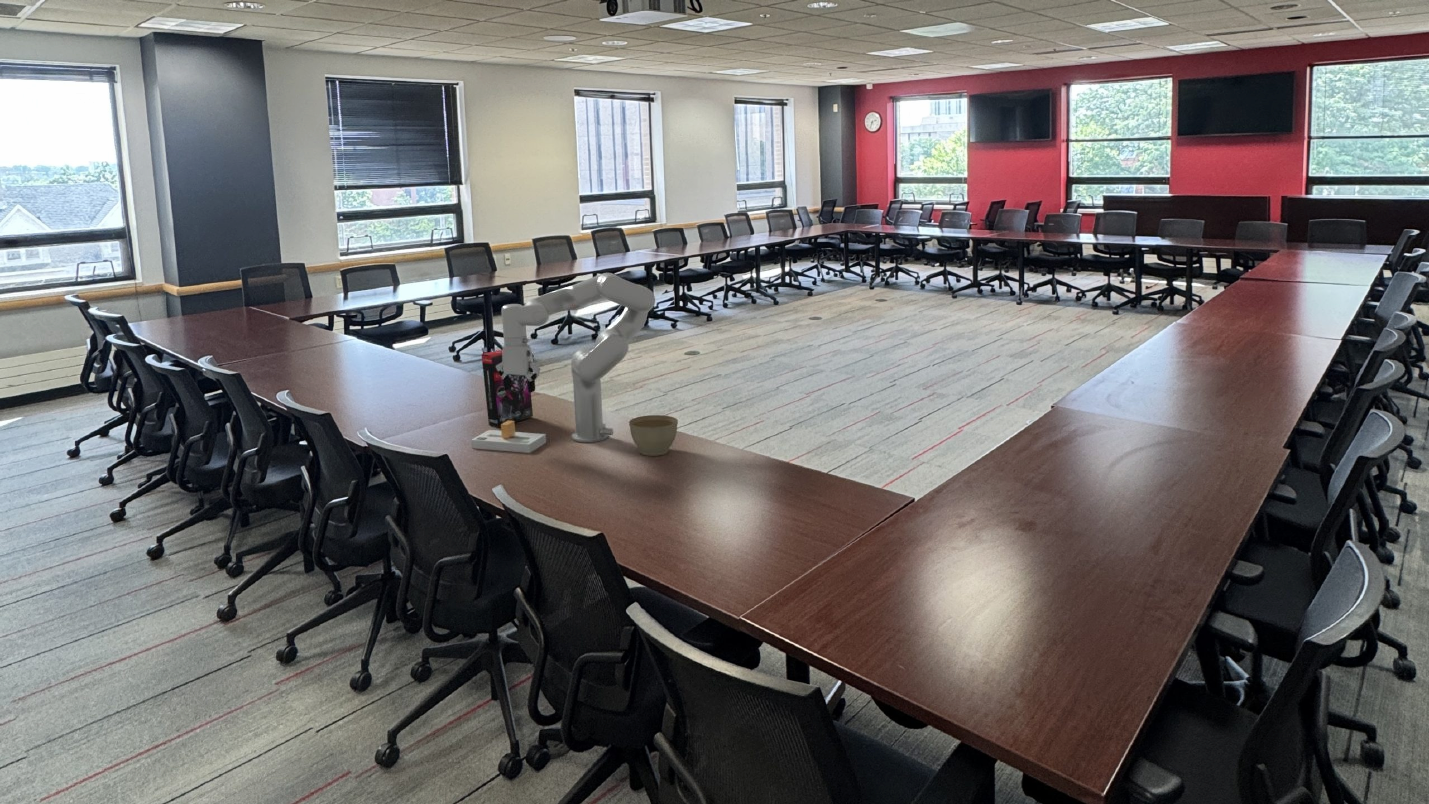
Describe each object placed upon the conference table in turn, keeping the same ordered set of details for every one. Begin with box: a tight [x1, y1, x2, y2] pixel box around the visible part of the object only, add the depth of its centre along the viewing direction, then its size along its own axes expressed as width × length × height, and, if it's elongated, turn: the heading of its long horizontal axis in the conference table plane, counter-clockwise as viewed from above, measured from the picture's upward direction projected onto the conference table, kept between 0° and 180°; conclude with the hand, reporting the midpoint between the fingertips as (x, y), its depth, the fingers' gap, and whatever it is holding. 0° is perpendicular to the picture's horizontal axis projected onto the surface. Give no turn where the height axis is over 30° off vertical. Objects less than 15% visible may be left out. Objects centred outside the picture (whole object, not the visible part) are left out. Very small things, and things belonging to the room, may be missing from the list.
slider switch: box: [471, 429, 547, 454], centre depth 316 cm, size 22×12×3 cm, turn 73°
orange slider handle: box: [500, 421, 516, 438], centre depth 315 cm, size 3×5×7 cm, turn 163°
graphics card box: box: [481, 349, 534, 428], centre depth 342 cm, size 17×7×27 cm, turn 143°
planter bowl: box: [628, 414, 679, 457], centre depth 305 cm, size 16×16×11 cm
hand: (519, 390), depth 311 cm, fingers open, 9 cm apart
